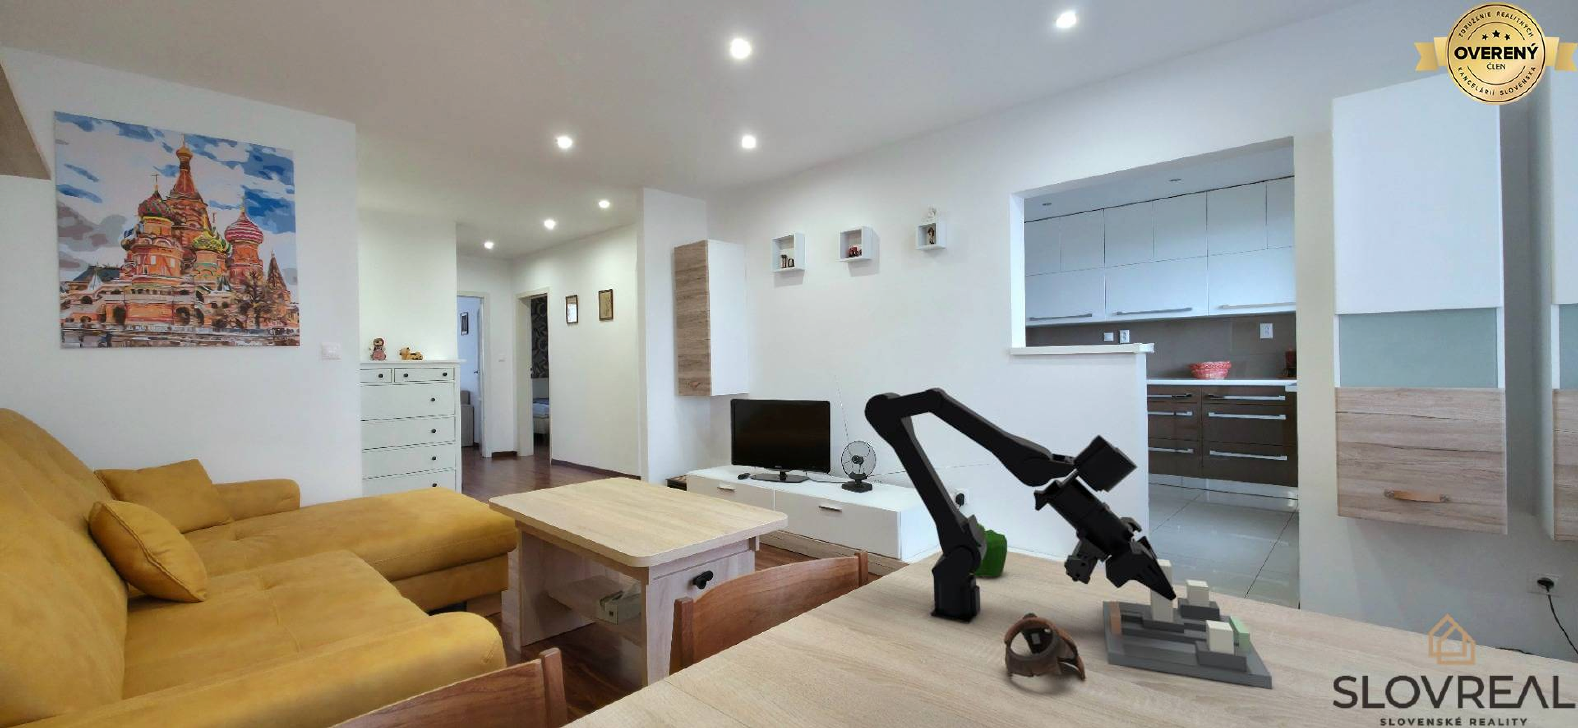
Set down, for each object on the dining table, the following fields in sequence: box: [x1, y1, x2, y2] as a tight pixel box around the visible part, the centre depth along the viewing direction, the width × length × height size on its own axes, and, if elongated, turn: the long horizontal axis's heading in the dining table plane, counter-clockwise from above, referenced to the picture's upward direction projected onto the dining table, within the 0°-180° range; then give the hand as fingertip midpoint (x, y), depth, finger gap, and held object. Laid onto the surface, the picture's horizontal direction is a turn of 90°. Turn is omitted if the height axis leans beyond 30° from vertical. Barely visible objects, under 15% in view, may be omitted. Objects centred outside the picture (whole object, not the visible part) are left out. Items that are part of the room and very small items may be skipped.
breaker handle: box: [1141, 558, 1184, 633], centre depth 89 cm, size 5×4×10 cm
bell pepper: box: [970, 522, 1008, 578], centre depth 120 cm, size 8×8×10 cm
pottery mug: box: [1003, 612, 1087, 680], centre depth 82 cm, size 12×9×8 cm
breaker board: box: [1102, 579, 1273, 689], centre depth 88 cm, size 18×20×6 cm
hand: (1172, 594), depth 89 cm, fingers closed on breaker handle, 3 cm apart
